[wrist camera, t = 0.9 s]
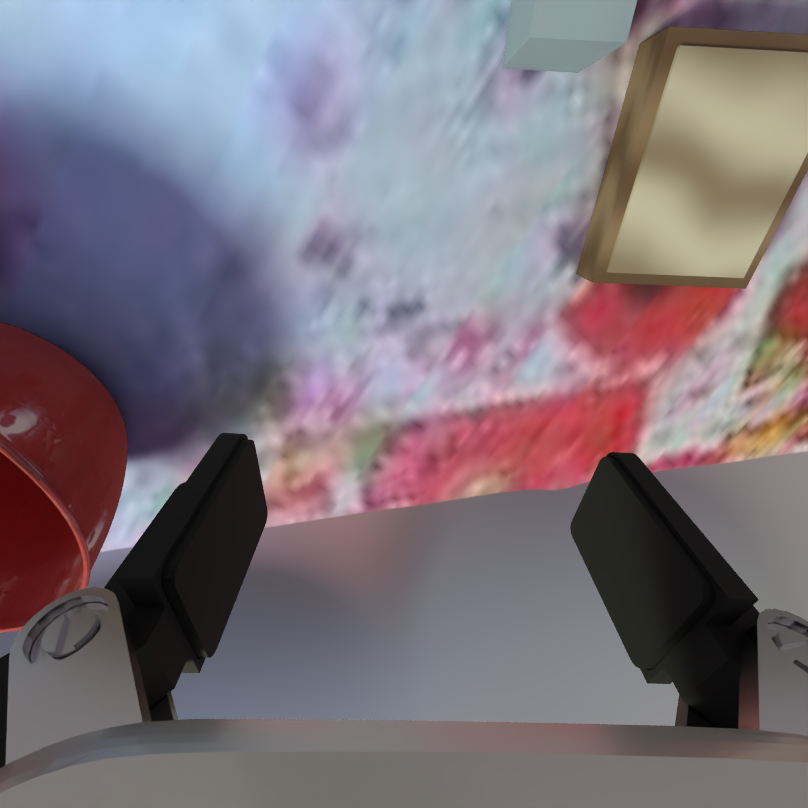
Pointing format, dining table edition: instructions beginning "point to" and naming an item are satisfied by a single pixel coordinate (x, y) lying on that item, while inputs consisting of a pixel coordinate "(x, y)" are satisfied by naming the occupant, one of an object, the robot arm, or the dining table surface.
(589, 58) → the block
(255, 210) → the dining table surface
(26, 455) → the mixing bowl
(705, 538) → the robot arm
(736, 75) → the plinth
